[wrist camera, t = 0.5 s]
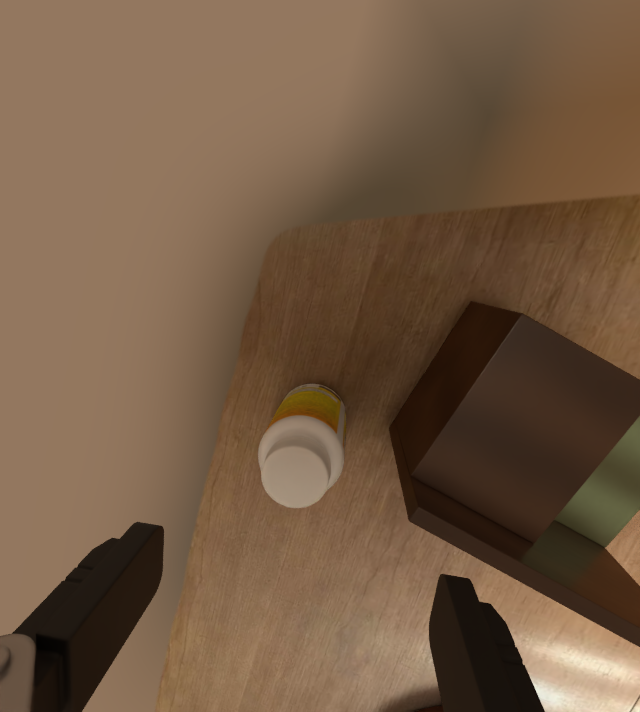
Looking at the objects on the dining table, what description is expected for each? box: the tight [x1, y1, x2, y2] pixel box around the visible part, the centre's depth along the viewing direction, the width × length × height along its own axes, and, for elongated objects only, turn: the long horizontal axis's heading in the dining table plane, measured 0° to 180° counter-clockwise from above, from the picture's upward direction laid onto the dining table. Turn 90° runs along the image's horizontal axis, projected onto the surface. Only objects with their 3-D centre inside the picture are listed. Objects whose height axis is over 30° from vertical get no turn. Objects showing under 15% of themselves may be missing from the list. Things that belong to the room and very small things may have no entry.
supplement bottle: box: [258, 384, 346, 508], centre depth 27 cm, size 6×6×10 cm
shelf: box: [389, 301, 640, 647], centre depth 24 cm, size 12×18×12 cm, turn 61°
